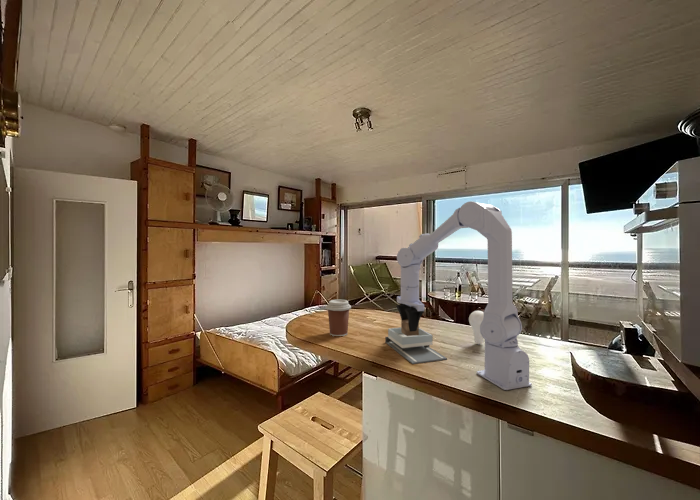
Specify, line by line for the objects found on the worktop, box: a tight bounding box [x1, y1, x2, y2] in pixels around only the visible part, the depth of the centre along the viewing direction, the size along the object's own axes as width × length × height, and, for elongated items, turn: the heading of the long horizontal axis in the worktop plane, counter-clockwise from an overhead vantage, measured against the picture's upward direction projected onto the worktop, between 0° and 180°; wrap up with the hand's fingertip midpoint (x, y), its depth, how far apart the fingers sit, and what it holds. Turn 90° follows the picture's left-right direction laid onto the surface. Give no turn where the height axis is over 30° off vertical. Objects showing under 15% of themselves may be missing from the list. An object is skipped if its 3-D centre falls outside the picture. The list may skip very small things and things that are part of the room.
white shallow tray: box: [387, 327, 434, 351], centre depth 96 cm, size 10×10×4 cm
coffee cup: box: [325, 298, 352, 337], centre depth 109 cm, size 9×9×12 cm
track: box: [384, 336, 448, 365], centre depth 93 cm, size 18×11×2 cm, turn 17°
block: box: [400, 319, 420, 336], centre depth 95 cm, size 4×4×4 cm
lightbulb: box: [468, 310, 484, 345], centre depth 98 cm, size 6×6×11 cm
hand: (409, 328), depth 95 cm, fingers closed on block, 4 cm apart
